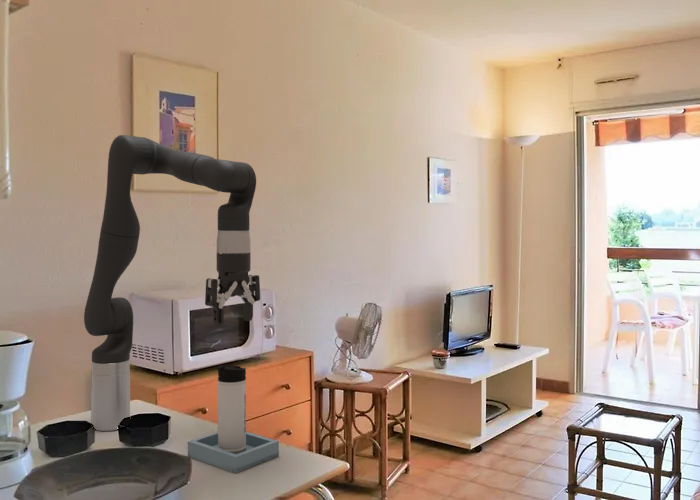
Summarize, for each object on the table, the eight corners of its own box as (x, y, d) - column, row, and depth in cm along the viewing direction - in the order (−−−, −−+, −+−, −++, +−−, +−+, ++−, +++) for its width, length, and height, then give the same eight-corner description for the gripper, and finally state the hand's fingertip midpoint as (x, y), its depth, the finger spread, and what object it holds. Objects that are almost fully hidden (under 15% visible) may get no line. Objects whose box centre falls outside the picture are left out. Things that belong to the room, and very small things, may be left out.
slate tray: (187, 456, 148) (187, 441, 148) (231, 441, 158) (231, 427, 158) (235, 473, 138) (235, 457, 138) (278, 456, 148) (278, 441, 148)
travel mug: (211, 452, 148) (211, 364, 147) (236, 445, 152) (236, 360, 152) (226, 459, 143) (226, 369, 143) (251, 452, 148) (251, 365, 147)
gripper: (245, 249, 154) (245, 317, 155) (197, 251, 143) (197, 325, 143) (268, 250, 149) (267, 320, 150) (220, 252, 138) (220, 328, 139)
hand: (233, 322), depth 147 cm, fingers open, 8 cm apart
